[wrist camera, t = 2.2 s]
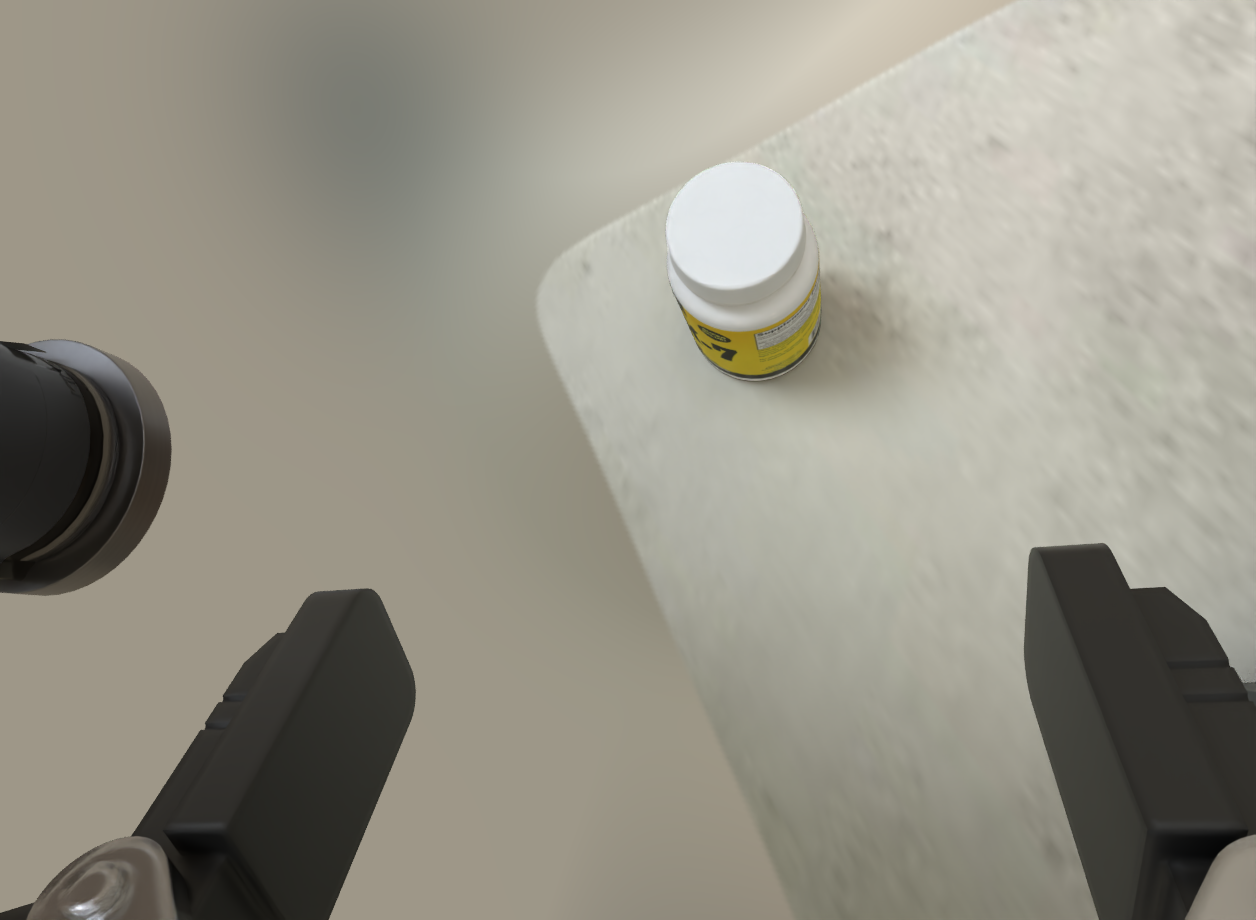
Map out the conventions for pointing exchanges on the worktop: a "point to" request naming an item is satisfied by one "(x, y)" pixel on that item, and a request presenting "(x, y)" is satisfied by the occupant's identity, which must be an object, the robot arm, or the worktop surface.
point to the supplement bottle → (745, 269)
